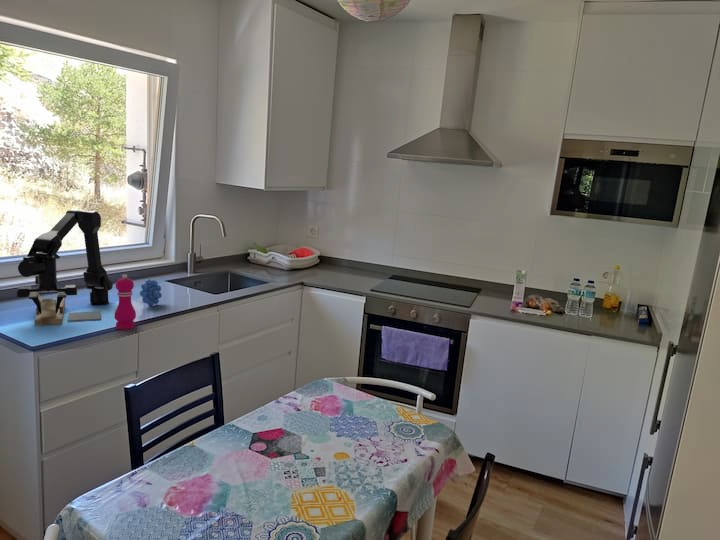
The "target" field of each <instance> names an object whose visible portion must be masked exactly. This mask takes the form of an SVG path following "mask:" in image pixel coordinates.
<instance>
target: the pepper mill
mask: <svg viewBox="0 0 720 540" xmlns="http://www.w3.org/2000/svg"><path fill="white" fill-rule="evenodd" d="M134 284H135V283H134V281H133V280H132V279H131V278H128V275H127V274H126V273H124V274H122V275H121V278H119V279H118V280H117V281H116V283H115V288H116V290H117V296H118V304H117V307H116V308H115V309H116V310H115V311H114V317H113V318H114V319H115V321H117V322H115V328H116V329H118V330H131V329H134V328H135V326H136V325H135V324H136V323H135V321H134V320H135V319H136V317H137V314H136V309H135V308H134V306H133V303H132V296H133V289H134V287H135V285H134Z"/></svg>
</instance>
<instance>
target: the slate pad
mask: <svg viewBox="0 0 720 540" xmlns="http://www.w3.org/2000/svg"><path fill="white" fill-rule="evenodd" d="M101 318H102V315H101V310H99V311H98V310H96V311H95V310H93V311H77V312H68V317H67V322H68V323H70V322H69V321H75V322H87V320H92V321H101V320H102V319H101Z"/></svg>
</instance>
